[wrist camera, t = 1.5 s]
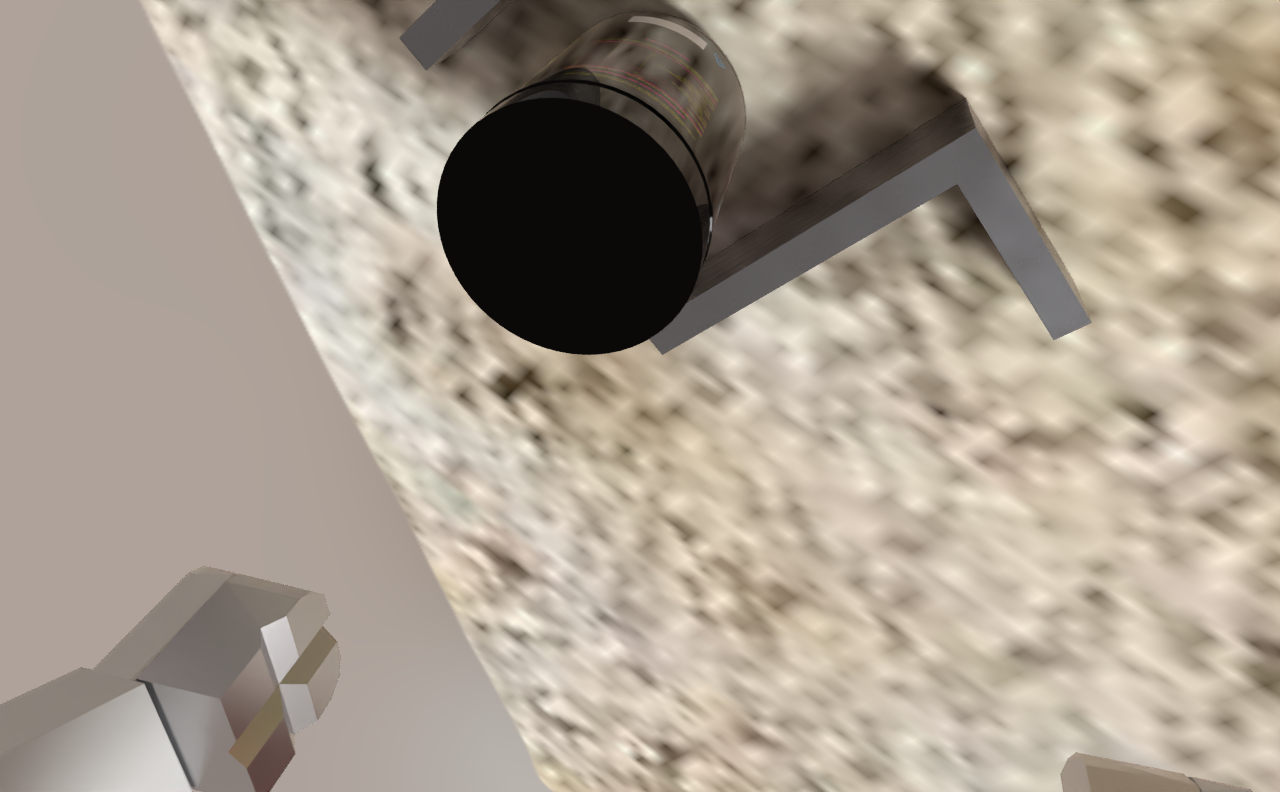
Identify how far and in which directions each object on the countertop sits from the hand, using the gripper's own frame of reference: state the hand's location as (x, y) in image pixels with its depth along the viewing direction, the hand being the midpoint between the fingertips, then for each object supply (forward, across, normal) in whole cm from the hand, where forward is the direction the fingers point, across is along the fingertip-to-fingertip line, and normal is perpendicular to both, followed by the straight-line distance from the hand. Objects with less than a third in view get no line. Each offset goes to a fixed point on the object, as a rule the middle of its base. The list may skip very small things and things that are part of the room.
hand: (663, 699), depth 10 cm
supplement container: (+23, +6, 0) cm, 24 cm away
